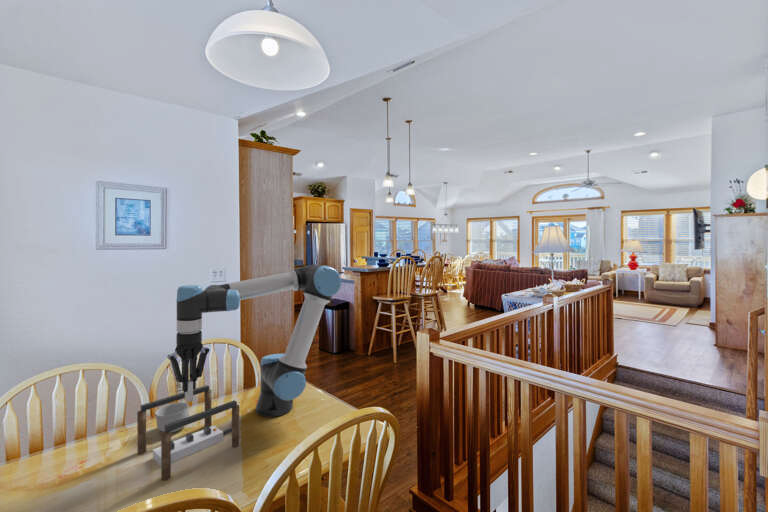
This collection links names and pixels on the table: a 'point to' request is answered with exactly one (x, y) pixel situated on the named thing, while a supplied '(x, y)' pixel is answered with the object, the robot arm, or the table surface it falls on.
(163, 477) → the posts
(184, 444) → the switch strip
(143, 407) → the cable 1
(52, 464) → the table surface
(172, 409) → the teacup
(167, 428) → the cable
